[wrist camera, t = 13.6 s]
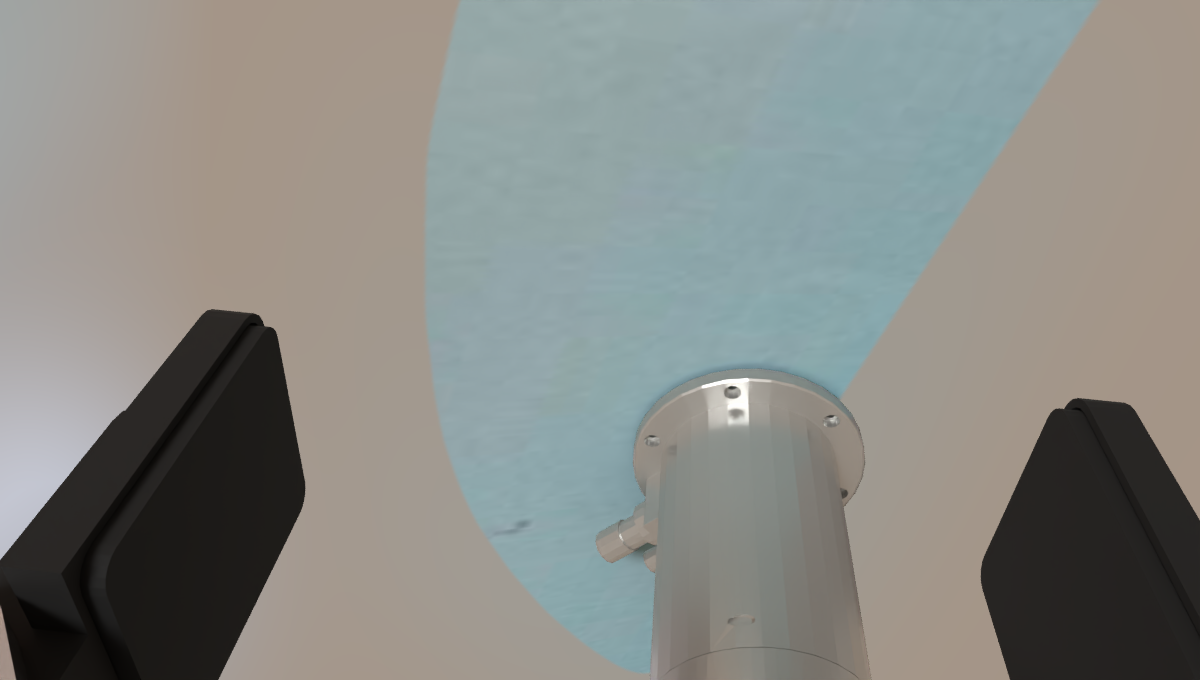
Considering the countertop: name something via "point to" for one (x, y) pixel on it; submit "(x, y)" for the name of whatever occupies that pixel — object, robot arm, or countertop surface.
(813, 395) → the robot arm
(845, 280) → the countertop surface
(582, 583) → the countertop surface
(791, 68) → the countertop surface
